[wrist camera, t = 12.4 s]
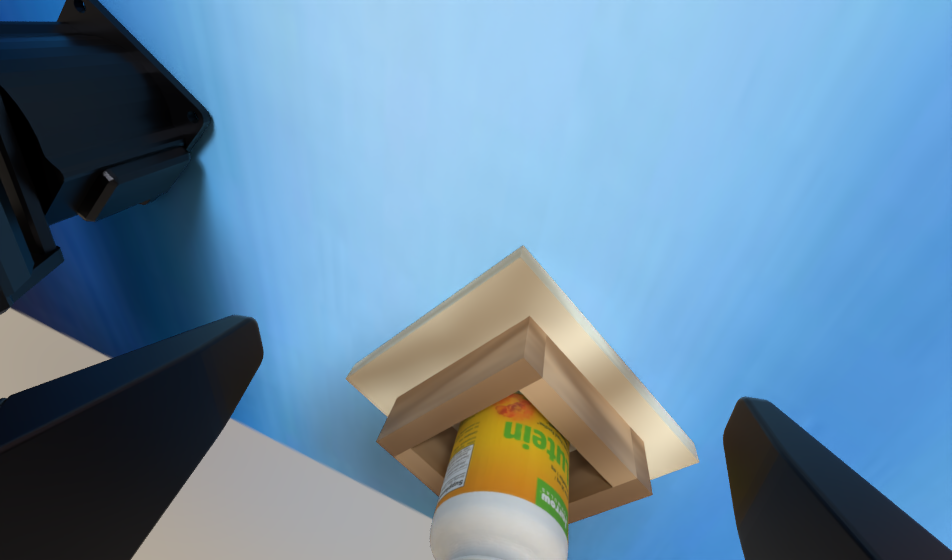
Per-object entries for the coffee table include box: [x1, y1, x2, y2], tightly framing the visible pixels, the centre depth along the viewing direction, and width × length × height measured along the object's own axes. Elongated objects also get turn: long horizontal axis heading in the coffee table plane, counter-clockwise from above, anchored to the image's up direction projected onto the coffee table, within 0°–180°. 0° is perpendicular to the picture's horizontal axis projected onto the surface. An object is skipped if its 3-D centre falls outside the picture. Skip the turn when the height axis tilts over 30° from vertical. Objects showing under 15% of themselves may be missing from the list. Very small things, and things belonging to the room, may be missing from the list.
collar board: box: [346, 246, 699, 524], centre depth 23 cm, size 14×12×4 cm
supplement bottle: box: [430, 391, 570, 560], centre depth 19 cm, size 5×5×10 cm
